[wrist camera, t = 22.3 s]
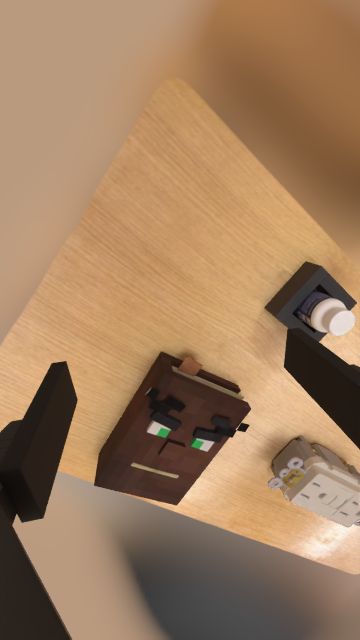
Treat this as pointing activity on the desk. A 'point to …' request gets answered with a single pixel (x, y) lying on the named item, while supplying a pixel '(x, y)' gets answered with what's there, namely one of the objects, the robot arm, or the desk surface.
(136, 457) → the decorative book
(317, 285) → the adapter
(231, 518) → the desk surface
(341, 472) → the electrical outlet
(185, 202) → the desk surface
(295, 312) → the pill bottle
